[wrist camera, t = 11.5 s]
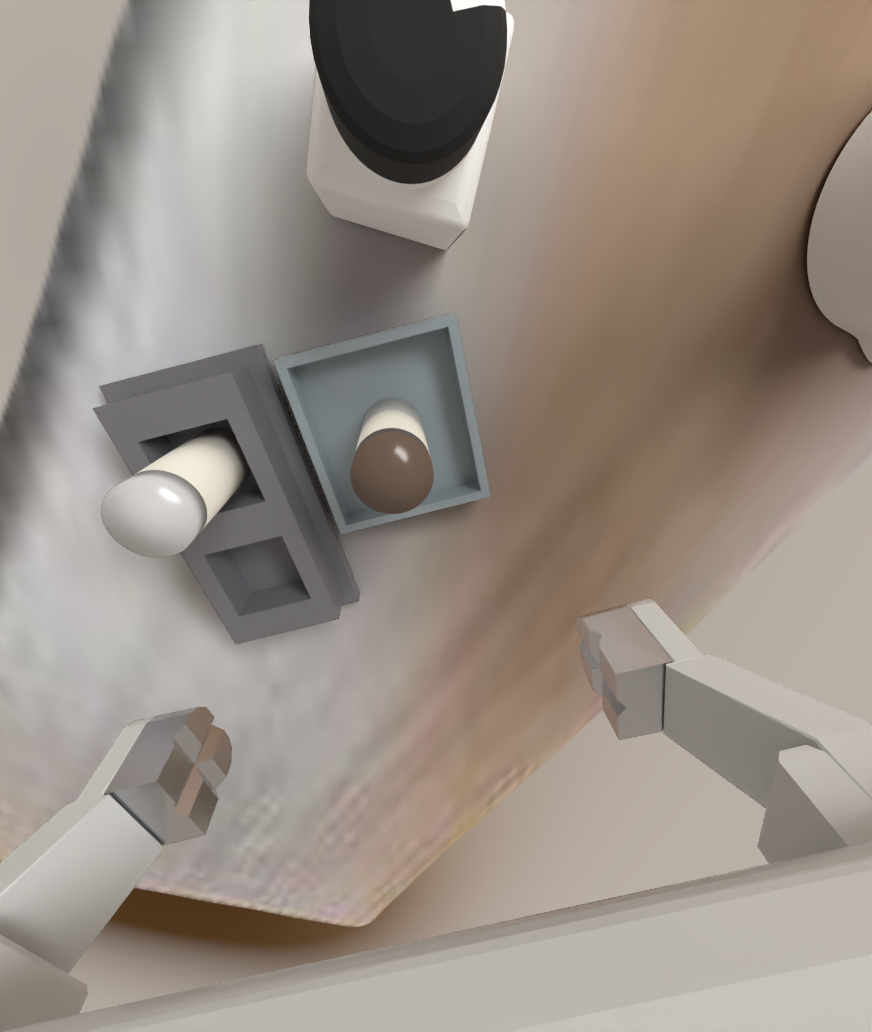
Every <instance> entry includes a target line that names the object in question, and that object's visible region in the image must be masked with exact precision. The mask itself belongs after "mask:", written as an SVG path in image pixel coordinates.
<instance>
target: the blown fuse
mask: <svg viewBox="0 0 872 1032" xmlns="http://www.w3.org/2000/svg"><path fill="white" fill-rule="evenodd" d="M350 477H351V483H352V487H353V489H354V492H355V493H356V495H357V497H358V498H359V499H360V500H361V501H362V502H363V503H364V504H365V505H366V506H368V507H369V508H371V509H373V510H375V511H377V512H381V513H386V514H400V513H404V512H408V511H410V510H412V509H414V508H416V507H417V506H419V505H420V504H421V503H422V502H423V501H424V500H425V499H426V497H427V496H428V495H429V493H430V491H431V488H432V485H433V480H434V471H433V466H432V462H431V458H430V454H429V450H428V446H427V442H426V438H425V434H424V430H423V426H422V422H421V419H420V416H419V414H418V412H417V411H416V409H415V408H414V407H413V406H412V405H411V404H409V403H408V402H406V401H404V400H402V399H398V398H385V399H382V400H380V401H378V402H376V403H374V404H373V405H372V406H371V407H370V408H369V410H368V411H367V413H366V415H365V418H364V421H363V425H362V428H361V432H360V436H359V440H358V443H357V447H356V451H355V455H354V458H353V462H352V466H351V472H350Z"/></svg>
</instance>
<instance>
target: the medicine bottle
mask: <svg viewBox="0 0 872 1032" xmlns="http://www.w3.org/2000/svg"><path fill="white" fill-rule="evenodd" d="M309 25H310V39H311V45H312V51H313V56H314V61H315V64H316V69H315V80H314V91H313V102H312V113H311V124H310V135H309V146H308V157H307V168H306V175H307V179H308V180H309V182H310V184H311V185H312V187H313V188H314V190H315V191H316V193H317V195H318V196H319V198H320V199H321V201H322V202H323V204H324V206H325V207H326V209H327V210H328V212H329V213H330V214H331V215H332V216H334V217H337V218H341V219H344V220H347V221H351V222H354V223H357V224H360V225H364V226H367V227H370V228H374V229H377V230H380V231H383V232H387V233H390V234H393V235H396V236H400V237H403V238H406V239H410V240H413V241H416V242H419V243H423V244H426V245H429V246H433V247H436V248H439V249H442V250H447V249H448V248H450V246H451V245H452V244H453V243H454V242H455V241H456V240H457V239H458V238H459V237H460V235H461V234H462V233H463V232H464V231H465V230H466V229H467V227H468V225H469V222H470V217H471V213H472V209H473V204H474V200H475V196H476V191H477V187H478V183H479V178H480V174H481V170H482V165H483V161H484V157H485V152H486V148H487V144H488V139H489V135H490V131H491V127H492V122H493V118H494V114H495V109H496V105H497V101H498V96H499V92H500V88H501V83H502V79H503V75H504V70H505V66H506V62H507V57H508V53H509V49H510V44H511V40H512V36H513V31H514V20H513V18H512V16H511V15H510V14H509V13H508V12H506V8H505V2H504V0H310V5H309Z"/></svg>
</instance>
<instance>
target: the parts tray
mask: <svg viewBox="0 0 872 1032" xmlns="http://www.w3.org/2000/svg"><path fill="white" fill-rule="evenodd" d="M273 362H274V364H275V367H276V370H277V372H278V375H279V377H280V380H281V382H282V385H283V388H284V390H285V393H286V395H287V398H288V400H289V403H290V406H291V408H292V411H293V413H294V416H295V418H296V421H297V424H298V426H299V429H300V431H301V434H302V436H303V439H304V442H305V444H306V447H307V449H308V452H309V454H310V457H311V460H312V462H313V465H314V467H315V470H316V472H317V475H318V477H319V480H320V483H321V485H322V488H323V490H324V493H325V495H326V498H327V501H328V503H329V506H330V508H331V511H332V513H333V516H334V519H335V521H336V524H337V526H338V529H339V531H340V534H345V533H349V532H353V531H357V530H361V529H365V528H369V527H373V526H377V525H380V524H384V523H388V522H392V521H396V520H400V519H404V518H408V517H412V516H416V515H420V514H424V513H428V512H432V511H436V510H440V509H444V508H448V507H452V506H456V505H460V504H464V503H468V502H472V501H476V500H480V499H484V498H488V497H491V495H490V490H489V484H488V479H487V474H486V468H485V463H484V458H483V453H482V447H481V442H480V437H479V431H478V426H477V421H476V415H475V410H474V405H473V400H472V394H471V389H470V384H469V378H468V373H467V368H466V363H465V357H464V352H463V347H462V341H461V336H460V331H459V325H458V320H457V315H456V313H448V314H444V315H440V316H436V317H433V318H429V319H425V320H421V321H417V322H413V323H410V324H406V325H402V326H398V327H394V328H390V329H387V330H383V331H379V332H375V333H371V334H367V335H364V336H360V337H356V338H352V339H348V340H344V341H341V342H337V343H333V344H329V345H325V346H321V347H318V348H314V349H310V350H306V351H302V352H298V353H295V354H291V355H287V356H283V357H281V358H278V359H276V360H273ZM385 398H398V399H402V400H404V401H406V402H408V403H409V404H411V405H412V406H413V407H414V408H415V409H416V411H417V412H418V414H419V416H420V419H421V422H422V426H423V430H424V434H425V438H426V442H427V446H428V450H429V454H430V458H431V462H432V466H433V471H434V480H433V485H432V488H431V491H430V493H429V495H428V496H427V497H426V499H425V500H424V501H423V502H422V503H421V504H420V505H419V506H417V507H416V508H414V509H412V510H410V511H408V512H404V513H400V514H386V513H381V512H377V511H375V510H373V509H371V508H369V507H368V506H366V505H365V504H364V503H363V502H362V501H361V500H360V499H359V498H358V497H357V495H356V493H355V492H354V489H353V487H352V483H351V477H350V472H351V466H352V462H353V458H354V455H355V451H356V447H357V443H358V440H359V436H360V432H361V428H362V425H363V421H364V418H365V415H366V413H367V411H368V410H369V408H370V407H371V406H372V405H373V404H374V403H376V402H378V401H380V400H382V399H385Z"/></svg>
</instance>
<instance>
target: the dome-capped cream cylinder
mask: <svg viewBox="0 0 872 1032" xmlns="http://www.w3.org/2000/svg"><path fill="white" fill-rule="evenodd" d="M251 472H252V471H251V469H250V467H249V464H248V462H247V460H246V458H245V456H244V454H243V451H242V449H241V447H240V445H239V443H238V441H237V439H236V436H235V434H234V432H232V431H230V430H226V429H222V428H211V429H207V430H204V431H202V432H201V433H199V434H197V435H196V436H194V437H193V438H191V439H190V440H188V441H186V442H185V443H183V444H182V445H180V446H179V447H177V448H175V449H174V450H172V451H171V452H169V453H168V454H166V455H164V456H163V457H161V458H160V459H158V460H156V461H155V462H153V463H152V464H150V465H149V466H147V467H145V468H144V469H142V470H141V471H139V472H138V473H136V474H134V475H133V476H131V477H130V478H128V479H126V480H125V481H123V482H122V483H120V484H119V485H117V486H115V487H114V488H113V489H111V490H110V491H109V492H108V493H107V494H106V496H105V497H104V499H103V502H102V506H101V516H102V520H103V523H104V525H105V527H106V529H107V531H108V532H109V534H110V535H111V536H112V537H113V538H114V539H115V540H116V541H117V542H118V543H119V544H120V545H122V546H123V547H125V548H126V549H128V550H130V551H132V552H134V553H137V554H140V555H143V556H147V557H153V558H163V557H170V556H173V555H176V554H178V553H180V552H182V551H183V550H185V549H186V548H187V547H188V546H189V545H190V544H191V542H192V541H193V540H194V539H195V538H196V537H197V535H198V534H199V533H200V532H201V531H202V530H203V529H204V527H205V526H206V525H207V524H208V523H209V522H210V520H211V519H212V518H213V517H214V516H215V515H216V514H217V512H218V511H219V510H220V509H221V508H222V507H223V505H224V504H225V503H226V502H227V501H228V500H229V499H230V497H231V496H232V495H233V494H234V493H235V492H236V490H237V489H238V488H239V487H240V486H241V485H242V484H243V482H244V481H245V480H246V479H247V478H248V477H249V475H250V474H251Z"/></svg>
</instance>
